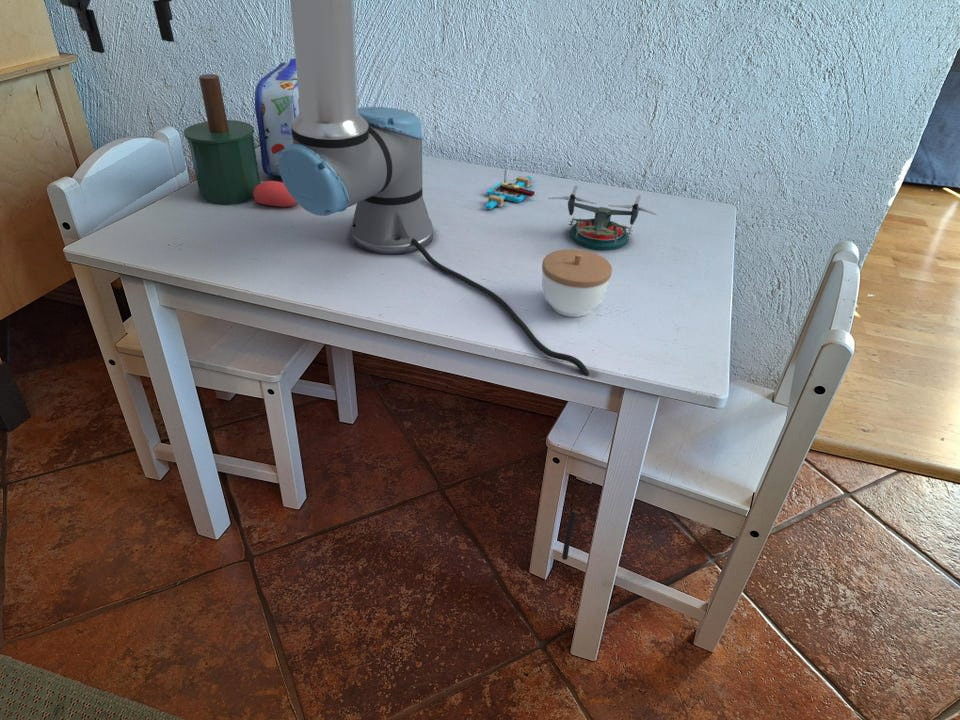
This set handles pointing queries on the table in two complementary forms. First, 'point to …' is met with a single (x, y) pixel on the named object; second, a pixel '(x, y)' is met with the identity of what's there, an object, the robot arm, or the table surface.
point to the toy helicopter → (600, 224)
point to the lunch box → (276, 113)
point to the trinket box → (575, 281)
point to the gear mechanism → (509, 191)
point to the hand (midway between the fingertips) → (134, 46)
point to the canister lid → (216, 117)
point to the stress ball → (273, 194)
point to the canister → (226, 170)
